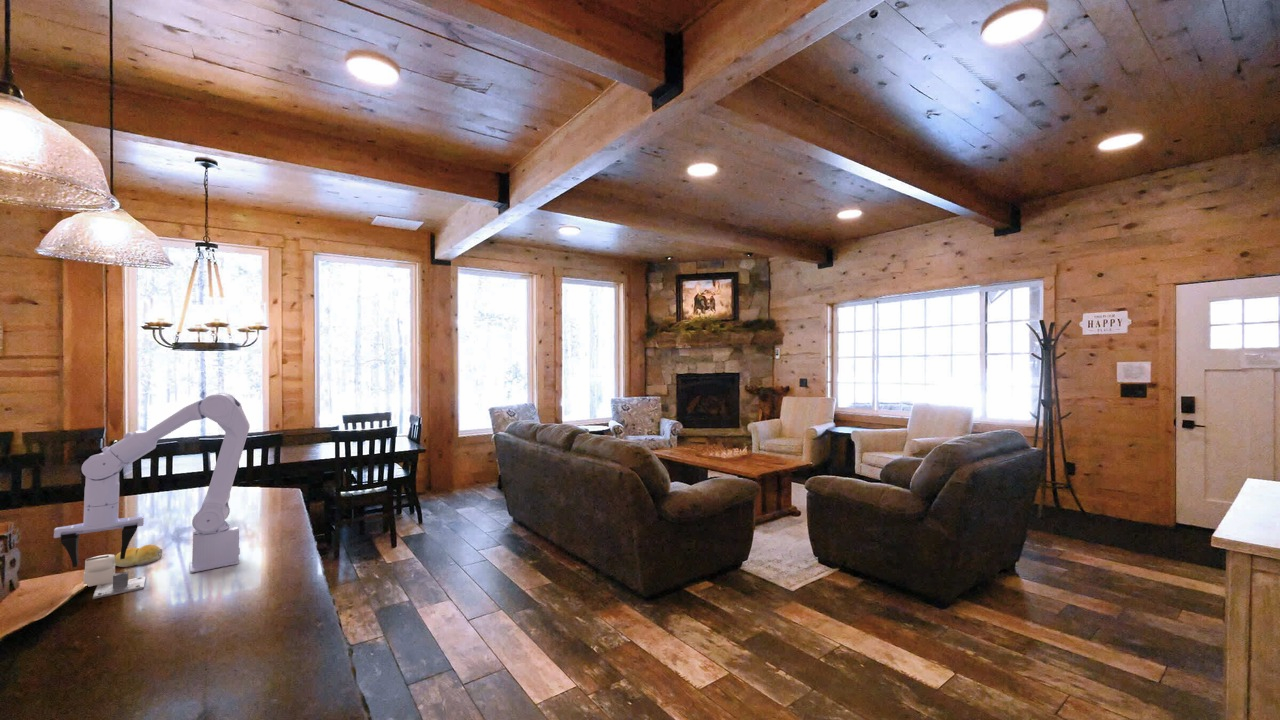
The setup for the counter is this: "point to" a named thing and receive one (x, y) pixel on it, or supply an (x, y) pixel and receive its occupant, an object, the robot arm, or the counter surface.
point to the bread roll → (139, 556)
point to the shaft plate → (119, 590)
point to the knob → (99, 570)
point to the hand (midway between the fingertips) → (99, 561)
